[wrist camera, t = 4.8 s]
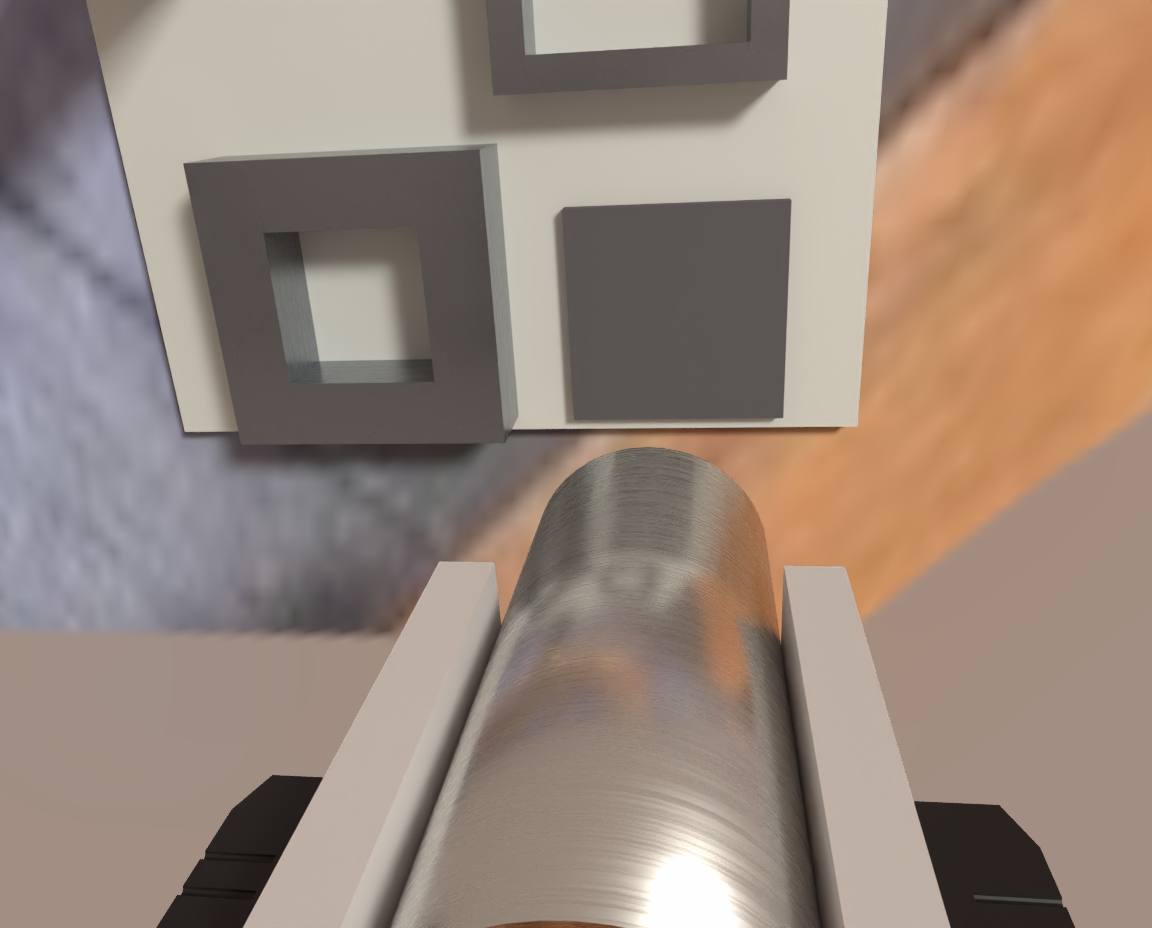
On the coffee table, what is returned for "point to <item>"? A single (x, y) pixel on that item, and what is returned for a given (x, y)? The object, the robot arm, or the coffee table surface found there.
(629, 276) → the pin pad
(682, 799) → the lock pin
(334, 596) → the coffee table surface
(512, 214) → the dock board
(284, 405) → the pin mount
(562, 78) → the socket
